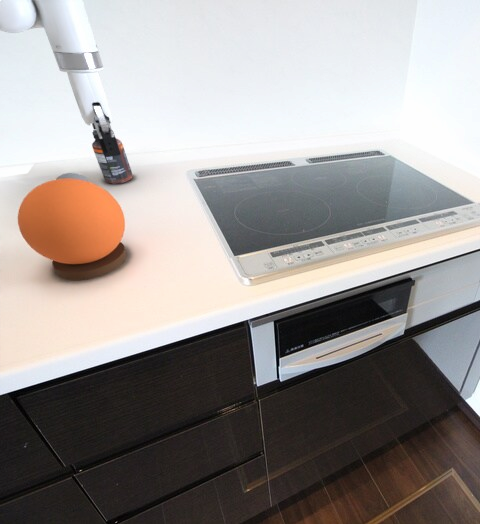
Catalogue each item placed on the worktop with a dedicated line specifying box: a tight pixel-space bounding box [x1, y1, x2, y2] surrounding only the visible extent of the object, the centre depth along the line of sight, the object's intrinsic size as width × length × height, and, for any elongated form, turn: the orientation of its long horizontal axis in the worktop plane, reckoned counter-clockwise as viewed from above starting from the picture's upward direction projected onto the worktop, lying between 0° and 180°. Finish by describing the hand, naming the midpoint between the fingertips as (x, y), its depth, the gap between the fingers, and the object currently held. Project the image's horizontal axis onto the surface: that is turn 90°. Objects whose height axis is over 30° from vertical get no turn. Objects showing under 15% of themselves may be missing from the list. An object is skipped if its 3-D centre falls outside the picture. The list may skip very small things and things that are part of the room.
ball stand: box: [17, 178, 128, 281], centre depth 56 cm, size 13×13×14 cm
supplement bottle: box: [91, 129, 134, 184], centre depth 83 cm, size 6×6×11 cm
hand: (109, 150), depth 82 cm, fingers closed on supplement bottle, 6 cm apart
